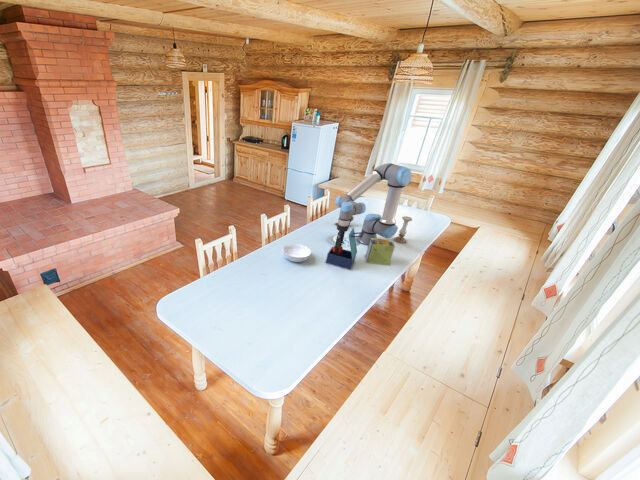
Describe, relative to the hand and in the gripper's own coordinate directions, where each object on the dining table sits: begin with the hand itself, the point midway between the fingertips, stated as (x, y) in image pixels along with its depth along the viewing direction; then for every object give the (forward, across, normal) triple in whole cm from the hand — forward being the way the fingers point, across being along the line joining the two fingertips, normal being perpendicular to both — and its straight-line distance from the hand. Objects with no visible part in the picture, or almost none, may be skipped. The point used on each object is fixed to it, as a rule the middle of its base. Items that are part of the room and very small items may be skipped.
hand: (336, 253), depth 229 cm
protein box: (+7, -18, +26) cm, 33 cm away
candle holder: (+6, -63, +38) cm, 74 cm away
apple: (-3, 0, 0) cm, 3 cm away
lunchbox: (+6, 0, +4) cm, 7 cm away
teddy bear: (+7, -68, -10) cm, 69 cm away
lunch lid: (-10, 0, +9) cm, 14 cm away
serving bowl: (+7, +12, -26) cm, 30 cm away
